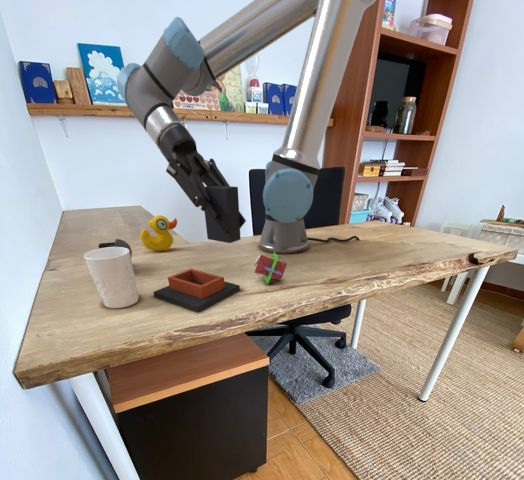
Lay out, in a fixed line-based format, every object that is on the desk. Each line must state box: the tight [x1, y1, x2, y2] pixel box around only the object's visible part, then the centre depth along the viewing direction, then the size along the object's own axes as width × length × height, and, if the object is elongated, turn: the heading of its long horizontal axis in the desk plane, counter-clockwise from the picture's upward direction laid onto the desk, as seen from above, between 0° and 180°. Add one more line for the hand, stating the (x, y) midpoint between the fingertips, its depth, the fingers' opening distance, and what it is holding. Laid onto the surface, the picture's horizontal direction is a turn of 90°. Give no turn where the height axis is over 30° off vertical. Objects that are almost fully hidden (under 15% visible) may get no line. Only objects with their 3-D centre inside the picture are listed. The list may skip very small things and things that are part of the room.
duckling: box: [139, 214, 178, 252], centre depth 89 cm, size 11×5×10 cm, turn 110°
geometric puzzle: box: [253, 252, 288, 286], centre depth 68 cm, size 7×7×8 cm
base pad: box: [153, 268, 241, 313], centre depth 63 cm, size 13×13×4 cm
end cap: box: [97, 238, 133, 258], centre depth 74 cm, size 10×7×7 cm
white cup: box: [83, 247, 140, 309], centre depth 58 cm, size 8×8×10 cm
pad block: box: [204, 185, 242, 244], centre depth 67 cm, size 4×7×11 cm, turn 55°
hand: (235, 226), depth 66 cm, fingers closed on pad block, 4 cm apart
